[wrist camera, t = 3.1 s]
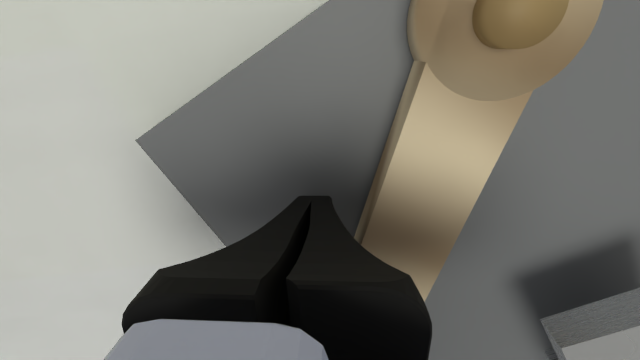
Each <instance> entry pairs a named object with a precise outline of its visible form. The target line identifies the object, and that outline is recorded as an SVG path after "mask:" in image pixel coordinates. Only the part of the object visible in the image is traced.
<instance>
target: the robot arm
mask: <svg viewBox="0 0 640 360" xmlns="http://www.w3.org/2000/svg"><path fill="white" fill-rule="evenodd" d="M122 327H123V332H124V335H123V336H122V337H121V338H120V339H119V340H118V342H117V343H116V344H115V346H114V347H113V348H112V349H111V351H110V352H109V353H108V355H107V356H106V357H105V359H104V360H428V358H429V352H430V345H431V339H432V322H431V318H430V315H429V312H428V309H427V307H426V305H425V302H424V300H423V298H422V296H421V294H420V292H419V290H418V289H417V287H416V285H415V283H414V281H413V280H412V278H411V276H410V275H408V274H406V273H404V272H402V271H400V270H398V269H396V268H394V267H392V266H390V265H388V264H386V263H385V262H383V261H382V260H380V259H378V258H377V257H375V256H374V255H373V254H371V253H370V252H369V251H367V250H366V249H365V248H364V247H363V246H361V245H360V244H359V243H358V242H357V241H356V239H355V238H354V237H353V236H352V235H351V234H350V233H349V231H348V230H347V229H346V227H345V226H344V224H343V223H342V221H341V220H340V218H339V216H338V215H337V213H336V211H335V209H334V206H333V203H332V198H331V197H330V196H298V197H297V198H296V199H295V200H294V201H293V202H292V203H291V204H290V205H288V206H287V207H286V208H285V209H284V210H283V211H282V212H281V213H279V214H278V215H277V216H276V217H274V218H273V219H272V220H271V221H269V222H268V223H267V224H265V225H264V226H263V227H261V228H260V229H258V230H257V231H255V232H254V233H252V234H250V235H249V236H247V237H245V238H243V239H242V240H240V241H238V242H235V243H233V244H231V245H229V246H227V247H225V248H223V249H221V250H218V251H216V252H213V253H211V254H208V255H206V256H203V257H200V258H197V259H194V260H191V261H188V262H184V263H181V264H177V265H174V266H170V267H166V268H162V269H159V270H158V271H157V272H156V273H155V274H154V275H153V277H152V278H151V279H150V280H149V281H148V283H147V284H146V285H145V286H144V287H143V288H142V290H141V291H140V292H139V293H138V294H137V296H136V297H135V298H134V299H133V300H132V301H131V303H130V304H129V305H128V307H127V308H126V310H125V312H124V313H123V318H122Z"/></svg>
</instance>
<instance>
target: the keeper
mask: <svg viewBox="0 0 640 360" xmlns="http://www.w3.org/2000/svg"><path fill="white" fill-rule="evenodd" d="M540 320H541V323H542V325H543V327H544V329H545V331H546V333H547V336H548V338H549V340H550V342H551V344H552V347H553V348H552V349H549V350H545V351H544V352H545V354H546V356H547V358H548V360H640V288H637V289H634V290H631V291H627V292H624V293H621V294H618V295H615V296H612V297H609V298H605V299H602V300H599V301H596V302H593V303H590V304H587V305H583V306H580V307H577V308H574V309H571V310H568V311H565V312H561V313H558V314H555V315H552V316H549V317H546V318H543V319H540Z"/></svg>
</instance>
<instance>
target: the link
mask: <svg viewBox="0 0 640 360" xmlns="http://www.w3.org/2000/svg"><path fill="white" fill-rule="evenodd" d="M603 1H604V0H411V2H410V6H409V10H408V18H407V37H408V44H409V48H410V52H411V54H412V57H413V59H414V62H413V65H412V68H411V71H410V74H409V77H408V80H407V83H406V86H405V89H404V92H403V95H402V97H401V100H400V103H399V106H398V109H397V112H396V115H395V118H394V121H393V124H392V127H391V130H390V133H389V136H388V139H387V142H386V145H385V148H384V150H383V153H382V156H381V159H380V162H379V165H378V168H377V171H376V174H375V177H374V180H373V183H372V186H371V189H370V192H369V195H368V198H367V201H366V203H365V206H364V209H363V212H362V215H361V218H360V221H359V224H358V227H357V230H356V233H355V236H354V238H355V239H356V241H357V242H358V243H359V244H360V245H361V246H363V247H364V248H365V249H366V250H367V251H369V252H370V253H371V254H373V255H374V256H375V257H377V258H378V259H380V260H382V261H383V262H385V263H386V264H388V265H390V266H392V267H394V268H396V269H398V270H400V271H402V272H404V273H406V274H408V275H410V276H411V278H412V280H413V281H414V283H415V285H416V287H417V289H418V290H419V292H420V294H421V296H422V298H423V300H424V302H425V300H426V298H427V296H428V294H429V292H430V290H431V288H432V286H433V285H434V283H435V281H436V279H437V277H438V275H439V273H440V271H441V269H442V267H443V265H444V263H445V261H446V259H447V257H448V255H449V253H450V251H451V250H452V248H453V246H454V244H455V242H456V240H457V238H458V236H459V234H460V232H461V230H462V228H463V226H464V224H465V222H466V220H467V218H468V216H469V214H470V213H471V211H472V209H473V207H474V205H475V203H476V201H477V199H478V197H479V195H480V193H481V191H482V189H483V187H484V185H485V183H486V181H487V179H488V178H489V176H490V174H491V172H492V170H493V168H494V166H495V164H496V162H497V160H498V158H499V156H500V154H501V152H502V150H503V148H504V146H505V144H506V143H507V141H508V139H509V137H510V135H511V133H512V131H513V129H514V127H515V125H516V123H517V121H518V119H519V117H520V115H521V113H522V111H523V109H524V108H525V106H526V104H527V102H528V100H529V98H530V96H531V94H532V92H533V90H535V89H536V88H538V87H540V86H541V85H543V84H545V83H546V82H548V81H549V80H550V79H552V78H553V77H555V76H556V75H557V74H558V73H559V72H560V71H562V70H563V69H564V68H565V67H566V66H567V65H568V64H569V63H570V62H571V61H572V60H573V58H574V57H575V56H576V55H577V54H578V52H579V51H580V50H581V48H582V47H583V46H584V44H585V43H586V41H587V39H588V38H589V36H590V34H591V33H592V30H593V28H594V26H595V24H596V22H597V20H598V17H599V14H600V12H601V9H602V5H603Z"/></svg>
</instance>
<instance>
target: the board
mask: <svg viewBox="0 0 640 360" xmlns="http://www.w3.org/2000/svg"><path fill="white" fill-rule="evenodd" d="M410 2H411V0H329V1H328V2H326V3H325V4H323V5H322V6H321V7H319V8H318V9H316V10H315V11H314V12H312V13H311V14H310V15H308V16H307V17H305V18H304V19H303V20H301V21H300V22H298V23H297V24H296V25H294V26H293V27H292V28H290V29H289V30H287V31H286V32H285V33H283V34H282V35H280V36H279V37H278V38H276V39H275V40H274V41H272V42H271V43H269V44H268V45H267V46H265V47H264V48H263V49H261V50H260V51H258V52H257V53H256V54H254V55H253V56H251V57H250V58H249V59H247V60H246V61H245V62H243V63H242V64H240V65H239V66H238V67H236V68H235V69H233V70H232V71H231V72H229V73H228V74H227V75H225V76H224V77H222V78H221V79H220V80H218V81H217V82H216V83H214V84H213V85H211V86H210V87H209V88H207V89H206V90H204V91H203V92H202V93H200V94H199V95H198V96H196V97H195V98H193V99H192V100H191V101H189V102H188V103H186V104H185V105H184V106H182V107H181V108H180V109H178V110H177V111H175V112H174V113H173V114H171V115H170V116H168V117H167V118H166V119H164V120H163V121H162V122H160V123H159V124H157V125H156V126H155V127H153V128H152V129H151V130H149V131H148V132H146V133H145V134H144V135H142V136H141V137H139V138H138V139H137V140H135V141H136V142H137V143H138V144H139V145H140V146H141V148H142V149H143V150H144V151H145V152H146V153H147V155H148V156H149V157H150V158H151V159H152V160H153V162H154V163H155V164H156V165H157V166H158V167H159V169H160V170H161V171H162V172H163V173H164V174H165V176H166V177H167V178H168V179H169V180H170V181H171V183H172V184H173V185H174V186H175V187H176V188H177V190H178V191H179V192H180V193H181V194H182V195H183V197H184V198H185V199H186V200H187V201H188V202H189V204H190V205H191V206H192V207H193V208H194V209H195V211H196V212H197V213H198V214H199V215H200V216H201V218H202V219H203V220H204V221H205V222H206V223H207V225H208V226H209V227H210V228H211V229H212V230H213V232H214V233H215V234H216V235H217V236H218V238H219V239H220V240H221V241H222V242H223V243H224V245H225V246H226V247H227V246H229V245H231V244H233V243H235V242H238V241H240V240H242V239H243V238H245V237H247V236H249V235H250V234H252V233H254V232H255V231H257V230H258V229H260V228H261V227H263V226H264V225H265V224H267V223H268V222H269V221H271V220H272V219H273V218H274V217H276V216H277V215H278V214H279V213H281V212H282V211H283V210H284V209H285V208H286V207H287V206H288V205H290V204H291V203H292V202H293V201H294V200H295V199H296V198H297V197H298V196H330V197H331V198H332V203H333V206H334V209H335V211H336V213H337V215H338V216H339V218H340V220H341V221H342V223H343V224H344V226H345V227H346V229H347V230H348V231H349V233H350V234H351V235H352V236H353V237H354V236H355V233H356V230H357V227H358V224H359V221H360V218H361V215H362V212H363V209H364V206H365V203H366V201H367V198H368V195H369V192H370V189H371V186H372V183H373V180H374V177H375V174H376V171H377V168H378V165H379V162H380V159H381V156H382V153H383V150H384V148H385V145H386V142H387V139H388V136H389V133H390V130H391V127H392V124H393V121H394V118H395V115H396V112H397V109H398V106H399V103H400V100H401V97H402V95H403V92H404V89H405V86H406V83H407V80H408V77H409V74H410V71H411V68H412V65H413V62H414V59H413V57H412V54H411V52H410V48H409V44H408V37H407V18H408V10H409V6H410ZM637 288H640V0H604V1H603V5H602V9H601V12H600V14H599V17H598V20H597V22H596V24H595V26H594V28H593V30H592V33H591V34H590V36H589V38H588V39H587V41H586V43H585V44H584V46H583V47H582V48H581V50H580V51H579V52H578V54H577V55H576V56H575V57H574V58H573V60H572V61H571V62H570V63H569V64H568V65H567V66H566V67H565V68H564V69H563V70H562V71H560V72H559V73H558V74H557V75H556V76H555V77H553V78H552V79H550V80H549V81H548V82H546V83H545V84H543V85H541V86H540V87H538V88H536V89H535V90H533V92H532V94H531V96H530V98H529V100H528V102H527V104H526V106H525V108H524V109H523V111H522V113H521V115H520V117H519V119H518V121H517V123H516V125H515V127H514V129H513V131H512V133H511V135H510V137H509V139H508V141H507V143H506V144H505V146H504V148H503V150H502V152H501V154H500V156H499V158H498V160H497V162H496V164H495V166H494V168H493V170H492V172H491V174H490V176H489V178H488V179H487V181H486V183H485V185H484V187H483V189H482V191H481V193H480V195H479V197H478V199H477V201H476V203H475V205H474V207H473V209H472V211H471V213H470V214H469V216H468V218H467V220H466V222H465V224H464V226H463V228H462V230H461V232H460V234H459V236H458V238H457V240H456V242H455V244H454V246H453V248H452V250H451V251H450V253H449V255H448V257H447V259H446V261H445V263H444V265H443V267H442V269H441V271H440V273H439V275H438V277H437V279H436V281H435V283H434V285H433V286H432V288H431V290H430V292H429V294H428V296H427V298H426V300H425V305H426V307H427V309H428V312H429V315H430V318H431V322H432V339H431V345H430V352H429V358H428V360H548V358H547V356H546V354H545V352H544V351H545V350H549V349H552V348H553V347H552V344H551V342H550V340H549V338H548V336H547V333H546V331H545V329H544V327H543V325H542V323H541V320H540V319H543V318H546V317H549V316H552V315H555V314H558V313H561V312H565V311H568V310H571V309H574V308H577V307H580V306H583V305H587V304H590V303H593V302H596V301H599V300H602V299H605V298H609V297H612V296H615V295H618V294H621V293H624V292H627V291H631V290H634V289H637Z"/></svg>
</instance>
